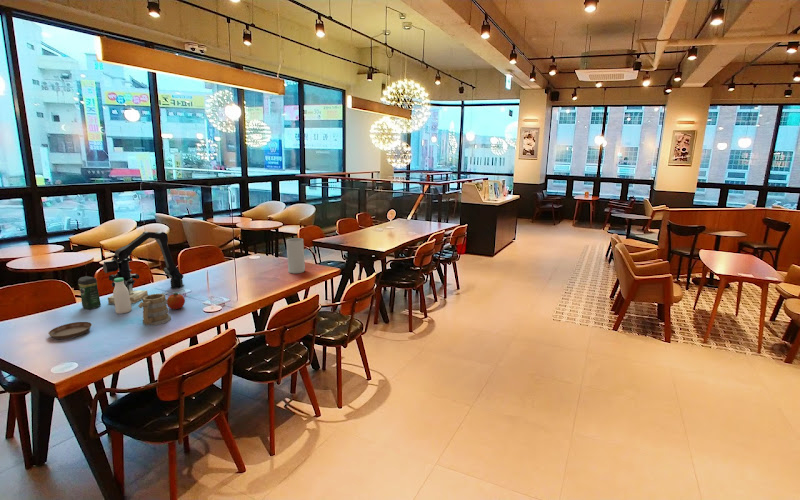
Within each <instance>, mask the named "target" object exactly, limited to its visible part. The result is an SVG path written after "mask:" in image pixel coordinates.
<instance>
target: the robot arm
mask: <svg viewBox="0 0 800 500" xmlns="http://www.w3.org/2000/svg"><path fill="white" fill-rule="evenodd" d="M148 239H154V240H155V242H156V243H157V244H158V246H159V247H160V248H159V249H160V251H161V254H162V257H163V260H164V263H165V267H164V268H163V270H164V274H166V276H168V277H169V278H170V289H181V288H182V287H184V286H185V284H184V283H183V278H184V275H183V273H181V272H180V271H179V269H178V267H177V266H176V264H175V263H174V260H173V257H172V254H171V251H170V248H169V245H168V243H169V242H168V241H169V235H168V233H166V232H164V231H160V230H157V231H155V232H154V231H153V232H152V231H143V232H142V233H141V234H140V235H138V236H137V237H136V238H134V239H133V240H132V241H131V242H129V243H128V244H126V245H124V246H121V247H119V248H117V249H116V250H115V251H114V255H113V256H112V258H111V260H108V261H107V260H106V261H103V265H102V270H103V272H104V274H108V273H112V274H110V275H108V281H111V287H112V288H115V283H114V279H115V278H124V285H125V286H126V287H127V289H128V287H129V284H127V283H132V288H133V287H134V284H135V282H136V280H139V279H140V275H139V274H138V273H131V272H133V271H132V269H130V268H131V267H130V264H129V263H130V262H133V259H131V258H130V256H131V255H132V253H133V251H134V250H136V249H137V248H138V247H140V246H141V245H142V244H143V243H145V242H146V241H148ZM114 272H116V274H113V273H114ZM134 279H135V280H134Z"/></svg>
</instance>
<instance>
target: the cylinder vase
mask: <svg viewBox="0 0 800 500" xmlns="http://www.w3.org/2000/svg"><path fill="white" fill-rule="evenodd" d="M285 242H286V256H287V257H286V258H287V270H288V273H289V274H302V273H304V272H305V270H306V266H305V246H304V245H305V244H304V238H302V237H301V238H300V237H299V238H298V237H295V238H294V237H292V238H288V239H286V241H285Z"/></svg>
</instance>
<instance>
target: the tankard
mask: <svg viewBox="0 0 800 500" xmlns="http://www.w3.org/2000/svg"><path fill="white" fill-rule="evenodd" d="M167 299H168V298H166V295H165V293H153V294H148V296H145V297H143V298H142V299H141V300H142V301H140V303H139V304H138V308H140V309H143V310H142V318H143V319H142V323H143V324H144V325H145V326H158V325H162V324H166V323H167V322H169V321H170V320H171V319H172V317H171V315H170V314H169V307H168V305H167V304H168V302H167Z"/></svg>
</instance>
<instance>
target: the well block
mask: <svg viewBox="0 0 800 500" xmlns="http://www.w3.org/2000/svg"><path fill="white" fill-rule="evenodd" d="M148 295H149V294H148V290H145V289H144V290H143V289H142V290H134V289H133V294H132V295H129V296H130V302H131V304H136V303H137V302H139V301H141V300H143V299H142V298H143V297H145V296H148ZM107 301H108V304H114V297H113V294H112V295H110V296H109V297H107Z"/></svg>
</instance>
